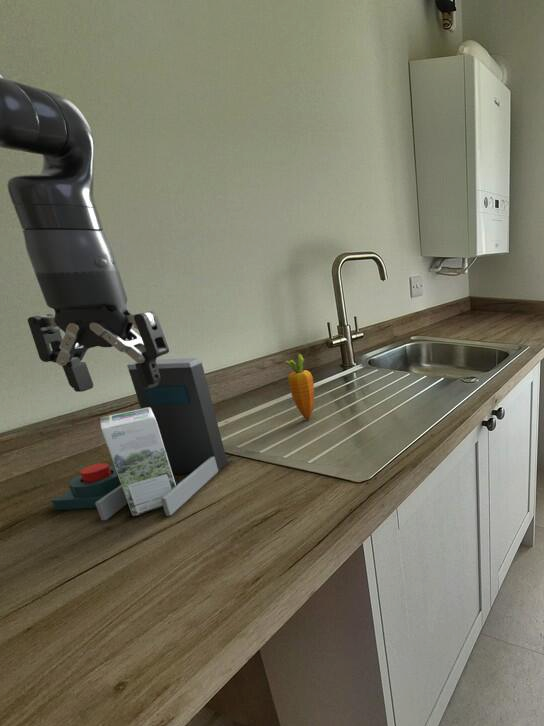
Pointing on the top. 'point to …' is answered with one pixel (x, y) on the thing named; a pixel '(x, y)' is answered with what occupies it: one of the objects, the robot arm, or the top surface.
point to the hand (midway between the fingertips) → (118, 388)
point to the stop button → (95, 472)
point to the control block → (86, 492)
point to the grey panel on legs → (178, 430)
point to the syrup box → (138, 458)
